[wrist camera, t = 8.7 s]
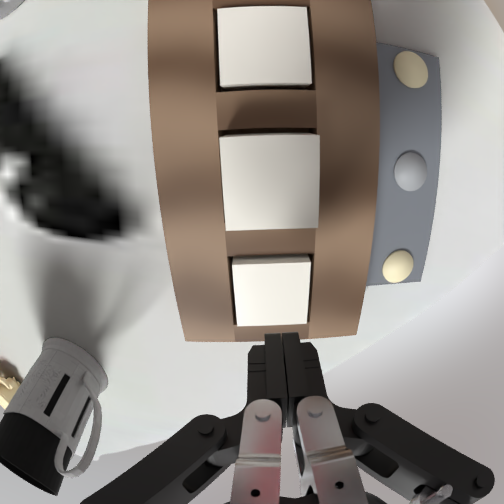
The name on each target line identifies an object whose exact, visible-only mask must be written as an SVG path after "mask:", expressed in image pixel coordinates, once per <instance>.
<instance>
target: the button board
mask: <svg viewBox="0 0 504 504" xmlns="http://www.w3.org/2000/svg"><path fill="white" fill-rule="evenodd" d="M250 6H292V7H307V18H308V30H309V43H310V59H311V78H312V84H310V85H309V86H307V87H306V88H304V89H303V90H289V89H276V90H243V91H227V92H226V91H225V90H224V89H223V88H222V87H221V86H220V67H219V42H218V13H217V9H220V8H232V7H250ZM148 79H149V100H150V116H151V129H152V141H153V152H154V161H155V171H156V179H157V187H158V195H159V203H160V210H161V217H162V223H163V230H164V236H165V242H166V248H167V254H168V260H169V265H170V270H171V276H172V281H173V286H174V291H175V296H176V301H177V306H178V310H179V315H180V319H181V324H182V328H183V332H184V337H185V341H194V342H248V341H265V338H264V334H265V333H281V335H282V333H283V332H298V333H299V338H300V339H314V338H328V337H339V336H350V335H356V334H357V329H358V324H359V320H360V315H361V309H362V304H363V299H364V293H365V288H366V282H367V275H368V269H369V262H370V255H371V248H372V240H373V231H374V222H375V212H376V201H377V188H378V172H379V148H380V95H379V72H378V57H377V45H376V35H375V26H374V18H373V11H372V4H371V0H148ZM251 133H311V134H316V135H320V181H319V218H318V228H297V229H264V230H236V231H226V226H225V213H224V200H223V186H222V171H221V156H220V140H219V138H220V137H222V136H224V135H231V134H251ZM281 254H308V256H309V259H310V261H311V267H310V284H309V299H308V313H307V324H291V325H267V326H237V317H236V306H235V294H234V283H233V271H232V262H233V256H251V255H281Z"/></svg>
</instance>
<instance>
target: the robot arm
mask: <svg viewBox="0 0 504 504" xmlns="http://www.w3.org/2000/svg"><path fill="white" fill-rule="evenodd" d="M23 1H24V0H0V19H2V18H4V17H5V16H7V15H9V14H10V13H11V12H12V11H14V10H15V9H16V8H17V7H18V6H19V5H20V4H21V3H22V2H23ZM264 338H265V345H253V346H252V348H251V350H250V351H249V353H248V382H247V403H246V406H245V407H244V409H243V410H242V411H241V412H239V413H238V414H236V415H234V416H231V417H227V418H223V419H219V418H218V417H216V416H214V415H208V414H205V415H200V416H197V417H195V418H194V419H192V420H191V421H190V422H189V423H188V424H186V425H185V426H184V427H183V428H182V429H180V430H179V431H178V432H177V433H175V434H174V435H173V436H172V437H170V438H169V439H168V440H167V441H166V442H164V443H163V444H162V445H160V446H159V447H158V448H156V449H155V450H154V451H153V452H151V453H150V454H149V455H147V456H146V457H145V458H143V459H142V460H141V461H139V462H138V463H137V464H135V465H134V466H133V467H131V468H130V469H128V470H127V471H126V472H124V473H123V474H122V475H120V476H119V477H118V478H116V479H115V480H113V481H112V482H110V483H109V484H107V485H106V486H104V487H103V488H101V489H100V490H98V491H97V492H95V493H94V494H92V495H91V496H89V497H87V498H86V499H84V500H83V501H82V502H81V503H80V504H188V503H189V502H190V501H191V500H192V499H193V498H195V497H196V496H197V495H198V494H199V493H201V491H203V490H204V489H205V488H206V487H207V486H208V485H209V484H211V483H212V482H213V481H214V480H215V479H216V478H217V477H218V476H219V475H220V474H222V473H223V472H224V471H225V469H227V468H228V467H229V466H230V465H231V464H232V463H235V471H234V478H233V485H232V492H231V500H230V502H227V503H225V504H387V503H385V502H384V501H383V500H381V499H380V498H378V497H377V496H375V495H373V494H370V493H368V492H365V491H364V487H363V484H362V481H361V477H360V474H359V470H358V467H359V468H361V469H362V470H364V471H365V472H366V473H368V474H369V475H371V476H372V477H374V478H375V479H376V480H378V481H379V482H381V483H382V484H384V485H385V486H387V487H389V488H390V489H392V490H393V491H395V492H397V493H398V494H400V495H401V496H403V497H404V498H406V499H408V500H409V501H410V503H409V504H473V503H475V502H476V501H478V500H480V499H481V498H483V497H484V496H486V495H487V494H489V492H490V491H491V490H492V488H493V486H494V481H495V478H494V474H493V472H492V471H491V469H489V468H488V467H486V466H484V465H482V464H480V463H478V462H476V461H475V460H473V459H471V458H469V457H467V456H465V455H464V454H461V453H459V452H458V451H456V450H455V449H453V448H451V447H449V446H447V445H446V444H444V443H442V442H440V441H439V440H437V439H435V438H434V437H432V436H430V435H428V434H427V433H425V432H423V431H422V430H420V429H418V428H417V427H415V426H413V425H412V424H410V423H409V422H407V421H405V420H403V419H402V418H400V417H399V416H397V415H396V414H394V413H392V412H391V411H389V410H388V409H386V408H384V407H383V406H381V405H379V404H375V403H368V404H364V405H362V406H361V407H359V408H358V409H357V410H356V409H348V408H342V407H339V406H337V405H335V404H333V403H332V402H331V401H330V400H329V398H328V396H327V393H326V389H325V384H324V379H323V375H322V370H321V366H320V361H319V357H318V353H317V349H316V348H315V347H314V346H313V345H312V344H311V342H305V343H300V338H299V333H298V332H283V333H282V335H281V333H265V334H264ZM286 421H287V427H293V436H294V437H293V446H294V451H295V457H296V462H297V467H298V472H299V478H300V492H301V497H300V498H287V497H280V496H279V494H280V469H281V442H282V433H283V428H285V427H286ZM357 466H358V467H357Z"/></svg>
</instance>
